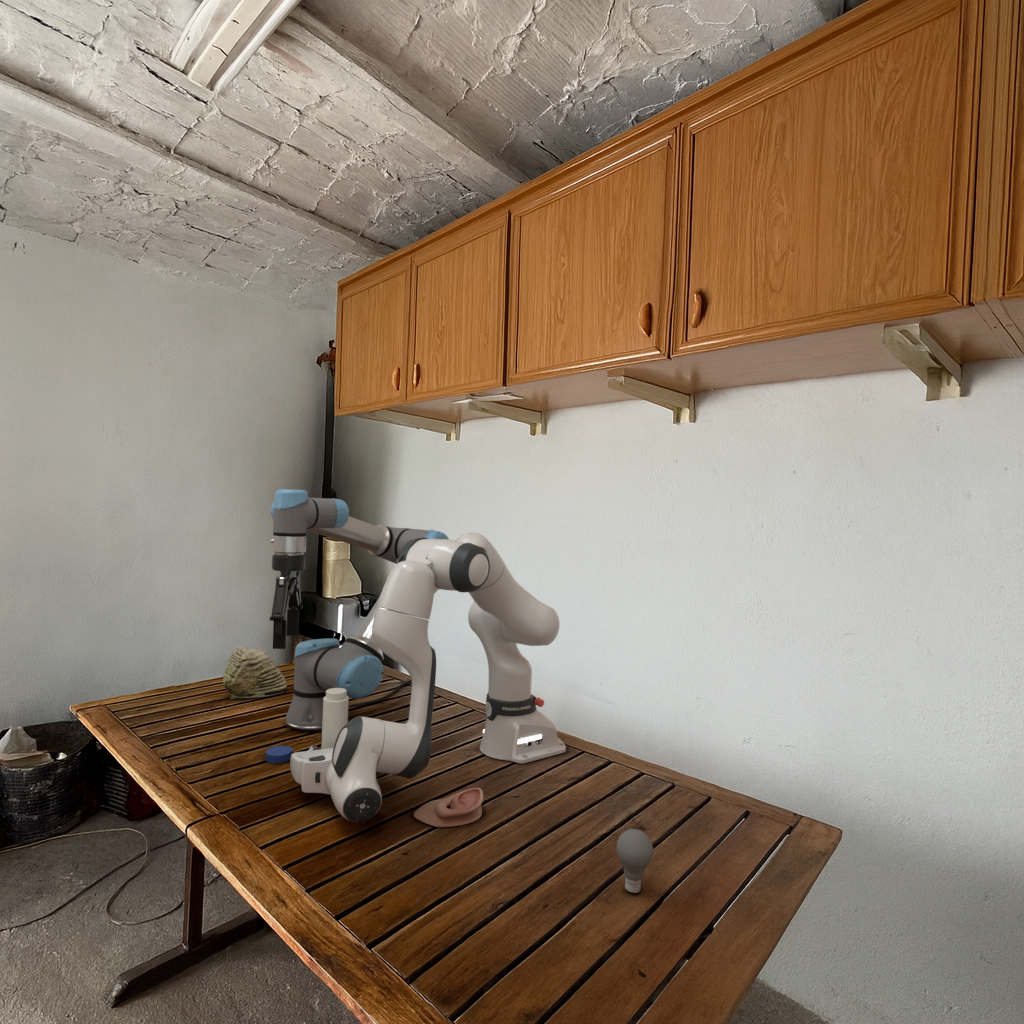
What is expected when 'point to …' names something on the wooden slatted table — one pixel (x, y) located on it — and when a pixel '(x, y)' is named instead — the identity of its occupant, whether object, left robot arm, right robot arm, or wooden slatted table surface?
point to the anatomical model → (452, 809)
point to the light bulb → (634, 857)
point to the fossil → (252, 674)
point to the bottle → (334, 715)
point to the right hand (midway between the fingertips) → (334, 746)
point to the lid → (279, 754)
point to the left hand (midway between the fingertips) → (286, 641)
